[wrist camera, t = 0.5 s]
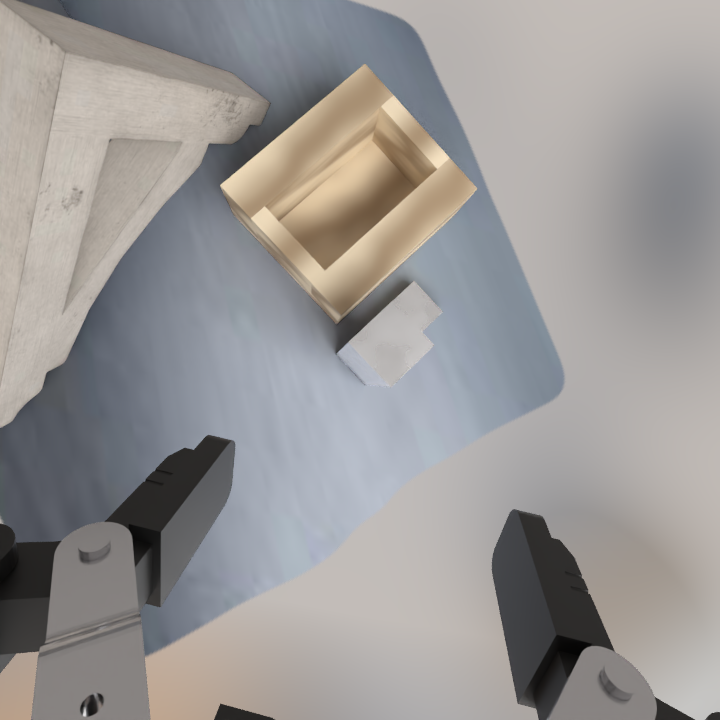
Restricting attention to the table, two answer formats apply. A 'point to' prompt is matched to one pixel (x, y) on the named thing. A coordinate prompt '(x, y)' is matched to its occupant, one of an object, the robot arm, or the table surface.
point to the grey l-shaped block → (392, 339)
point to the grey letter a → (88, 170)
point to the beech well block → (347, 193)
